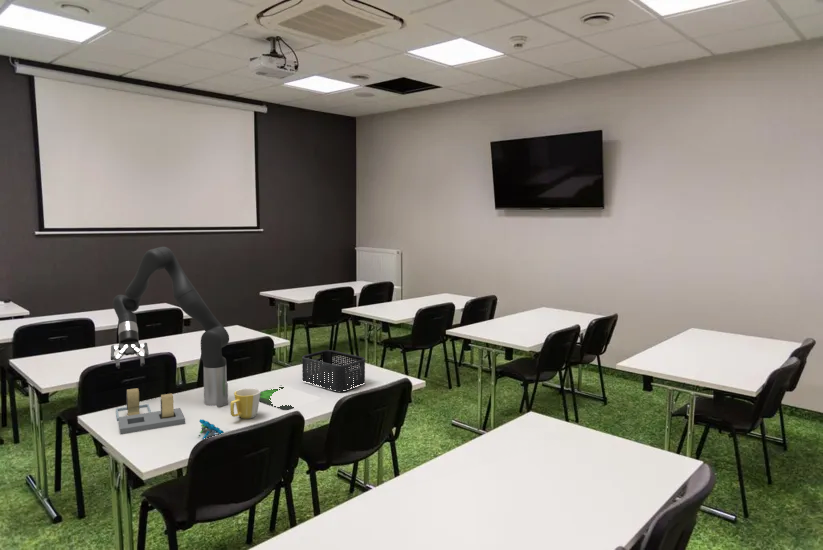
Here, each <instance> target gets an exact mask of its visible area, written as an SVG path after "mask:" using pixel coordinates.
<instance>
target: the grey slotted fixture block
mask: <svg viewBox="0 0 823 550" xmlns="http://www.w3.org/2000/svg"><path fill="white" fill-rule="evenodd" d="M185 424H186V417H185V415H184V412H183V411H182V409H181V407H178V408H177V407H176V408H174V417H171V418H164V419H161V410H158V411H151V412H150V413H149V412H143V413H139V414H136V415H130V416H128V415H125V416H119V421H118V426H119V433H120V435H125V434H132V433H138V432H143V431H148V430H157V429H162V428H167V427H174V426H179V425H185Z"/></svg>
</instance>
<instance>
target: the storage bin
mask: <svg viewBox="0 0 823 550" xmlns="http://www.w3.org/2000/svg"><path fill="white" fill-rule="evenodd" d="M317 356H319V358H317V359H311V358H313V357H317ZM301 358H302V360H301V361H302V363H301V364H302V367H301V368H302V370H301V371H302V374H301V375H302V380H303V381H306V382H310V383H312V384H313V383H314V384H315V385H316V384H317V385H319V386H320V385H321V386H322V387H325V388H329V389H330V388H331V389H332V390H336V391H343V390H347V389H350V388H351V387H352V388H353V386H354V387H355V386H357V385H360V384H363V383H365V384H366V358H365V357H364V356H359V355H354V354H350V353H345V352H340V351H336V350H332V349H331V350H330V349H326V350H325V349H324V350H320V351H317V352H313V353H308V354H304V355H303V356H302V357H301ZM324 372H325V373H324ZM332 372H333V373H332ZM328 373H329V374H328ZM317 374H318V375H317ZM324 374H325V375H324ZM332 374H333V375H332ZM313 375H314V376H313ZM328 375H329V376H328ZM317 376H318V377H317ZM324 376H325V377H324ZM332 376H333V377H332ZM313 377H314V378H313ZM328 377H329V378H328ZM349 377H350V378H349ZM309 378H310V379H309ZM317 378H318V379H317ZM324 378H325V379H324ZM332 378H333V379H332ZM353 378H354V379H353ZM313 379H314V380H313ZM328 379H329V380H328ZM324 380H325V381H324ZM332 380H333V381H332ZM353 380H354V381H353ZM313 381H314V382H313ZM320 381H321V382H320ZM328 381H329V382H328ZM324 382H325V383H324ZM332 382H333V383H332ZM353 382H354V383H353ZM347 384H348V385H347ZM353 384H354V385H353ZM351 385H352V386H351ZM330 386H331V387H330Z"/></svg>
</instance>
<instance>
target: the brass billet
mask: <svg viewBox="0 0 823 550" xmlns="http://www.w3.org/2000/svg"><path fill="white" fill-rule="evenodd" d="M139 390H140V389H139V387H138V388H130V389H126V407H127V410H126V411H127V416H130V415H136V414H140V408H139V405H140V391H139Z"/></svg>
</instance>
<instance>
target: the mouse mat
mask: <svg viewBox="0 0 823 550" xmlns="http://www.w3.org/2000/svg"><path fill="white" fill-rule="evenodd" d="M279 388H281V389H283V388H284V387H279ZM270 389H271V388H270ZM279 390H280V389H279ZM260 391H261V390H260ZM276 391H278V389H273V390H272V389H271V390H268V389H264V390H262V391H261V392H260V399H259V403H261V404H264V405H267V406H270V405H271V406H270V407H273V404H271V403H272V402H271V401H270V400H271V398H270V396H272V394H273V393H274V392H276ZM269 399H270V400H269ZM273 408H276V406H274V407H273ZM279 408H280V410H282V411H291V410H293V409H295V408H294V407H292V406H291V405H290V406H289V405H288V406H287V405H285V406H283V405H282V406H280V407H277V408H276V409H279Z"/></svg>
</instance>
